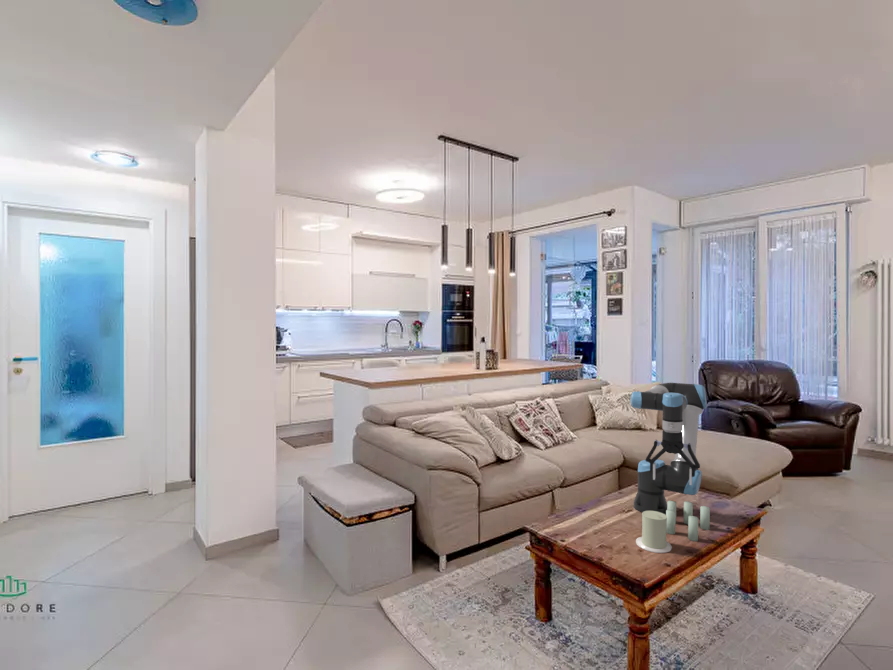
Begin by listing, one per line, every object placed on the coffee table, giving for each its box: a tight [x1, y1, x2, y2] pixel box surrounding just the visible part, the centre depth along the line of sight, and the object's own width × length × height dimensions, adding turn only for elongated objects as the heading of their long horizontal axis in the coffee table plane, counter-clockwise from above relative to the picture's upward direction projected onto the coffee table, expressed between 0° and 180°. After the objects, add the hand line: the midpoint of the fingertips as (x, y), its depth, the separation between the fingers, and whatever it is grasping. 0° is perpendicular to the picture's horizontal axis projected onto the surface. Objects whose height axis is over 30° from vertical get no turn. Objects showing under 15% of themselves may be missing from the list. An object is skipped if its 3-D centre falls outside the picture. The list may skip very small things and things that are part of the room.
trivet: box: [635, 536, 673, 554], centre depth 186 cm, size 13×13×1 cm
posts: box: [665, 500, 711, 542], centre depth 200 cm, size 17×21×9 cm
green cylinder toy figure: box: [641, 511, 667, 549], centre depth 186 cm, size 9×9×12 cm
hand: (672, 481), depth 193 cm, fingers open, 13 cm apart
